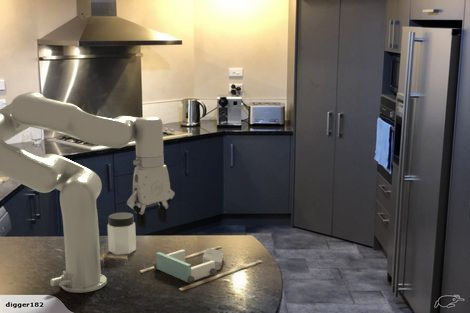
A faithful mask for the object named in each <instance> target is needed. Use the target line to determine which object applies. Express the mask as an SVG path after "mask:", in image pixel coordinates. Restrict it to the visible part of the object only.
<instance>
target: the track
mask: <svg viewBox="0 0 470 313" xmlns="http://www.w3.org/2000/svg"><path fill="white" fill-rule="evenodd" d="M211 249H214V250H219V249H222V246H220V245H218V246H215V247H211ZM205 251H206V249H205V250H202V251H198V252H195V253H192V254H190V255H189V254H188V255H185V260H188V259H192V258H193V257H194V258H195V257H197V256H201V255H204V253H205ZM260 263H263V260H260V259H259V260H256V261H253V262H251V263H248V264H245V265H242V266H239V267H236V268H234V269H231V270H227V271H224V272H222V273H221V272H220V273H218V274H216V275H214V276H213V275H212V276H210V277H208V278H205V279H202V280H199V281H196V282H193V283H189V284H187V285H184V286H182V287H180V288H178V290H179V291H180V292H182V291H186V290H189V289H191V288H194V287H197V286H200V285H202V284H205V283H209V282H211V281H214V280H217V279H219V278H222V277H225V276H228V275H230V274H233V273H236V272H238V271H243V270H245V269H247V268H250V267H253V266H255V265H258V264H260ZM155 269H156V268H154V265H153V266H150V267H146V268H144V269H140V270H139V272H140V273H141V274H143V273H147V272H149V271H152V270H155Z"/></svg>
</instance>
